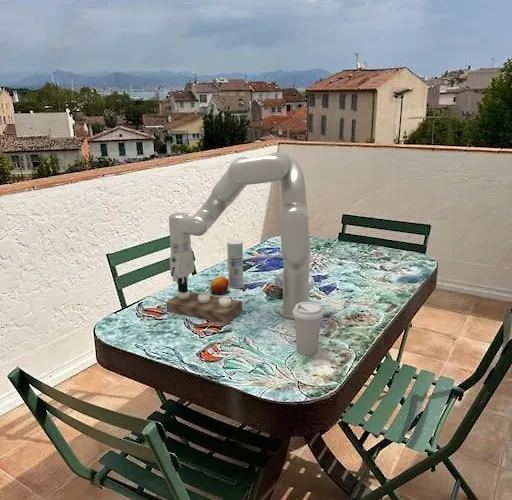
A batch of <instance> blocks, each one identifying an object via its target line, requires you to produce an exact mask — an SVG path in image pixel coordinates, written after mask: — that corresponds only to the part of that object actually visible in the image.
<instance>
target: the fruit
mask: <svg viewBox="0 0 512 500" xmlns="http://www.w3.org/2000/svg"><path fill="white" fill-rule="evenodd" d="M209 290H210V291H211V292H212V293H213V294H215V295H222V294H223V295H225V294H226V293H227V292H229V281H228V277H226V276H223V275H220V276H217V277H215V278H213V279H212V280H211V281H210V284H209Z"/></svg>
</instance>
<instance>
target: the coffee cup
mask: <svg viewBox="0 0 512 500" xmlns="http://www.w3.org/2000/svg"><path fill="white" fill-rule="evenodd" d="M292 313H293V315H294V319H293V320H294V328H295V329H294V332H295V342H296V343H295V345H296V352H297V351H298V352H299V353H298V352H297V353H298V354H300V353H301V354H300V355H302V354H305V355H304V356H310V355H309V354H313V355H315V354H317V353H318V348H319V342H320V332H321V326H322V325H321V323H322V318H323V317H324V311H323V308H322V307H321V304H319V303H316V302H313V301H311V302H301V303H298V304H296V306H295V308H294V309H293V312H292ZM314 353H315V354H314Z"/></svg>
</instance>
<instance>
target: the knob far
mask: <svg viewBox="0 0 512 500" xmlns="http://www.w3.org/2000/svg"><path fill="white" fill-rule="evenodd" d="M189 292H190V290H189V289H188V291H187V292H186V293H182V292H179V291H177V295H178V299H180V300H186V299H189V298H190V293H189Z"/></svg>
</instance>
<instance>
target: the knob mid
mask: <svg viewBox="0 0 512 500" xmlns="http://www.w3.org/2000/svg"><path fill="white" fill-rule="evenodd" d="M210 296H211V295H210V293H208V292H202V293H199V295H198V302H199V303H202V304H205V303H209V302H210Z"/></svg>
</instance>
